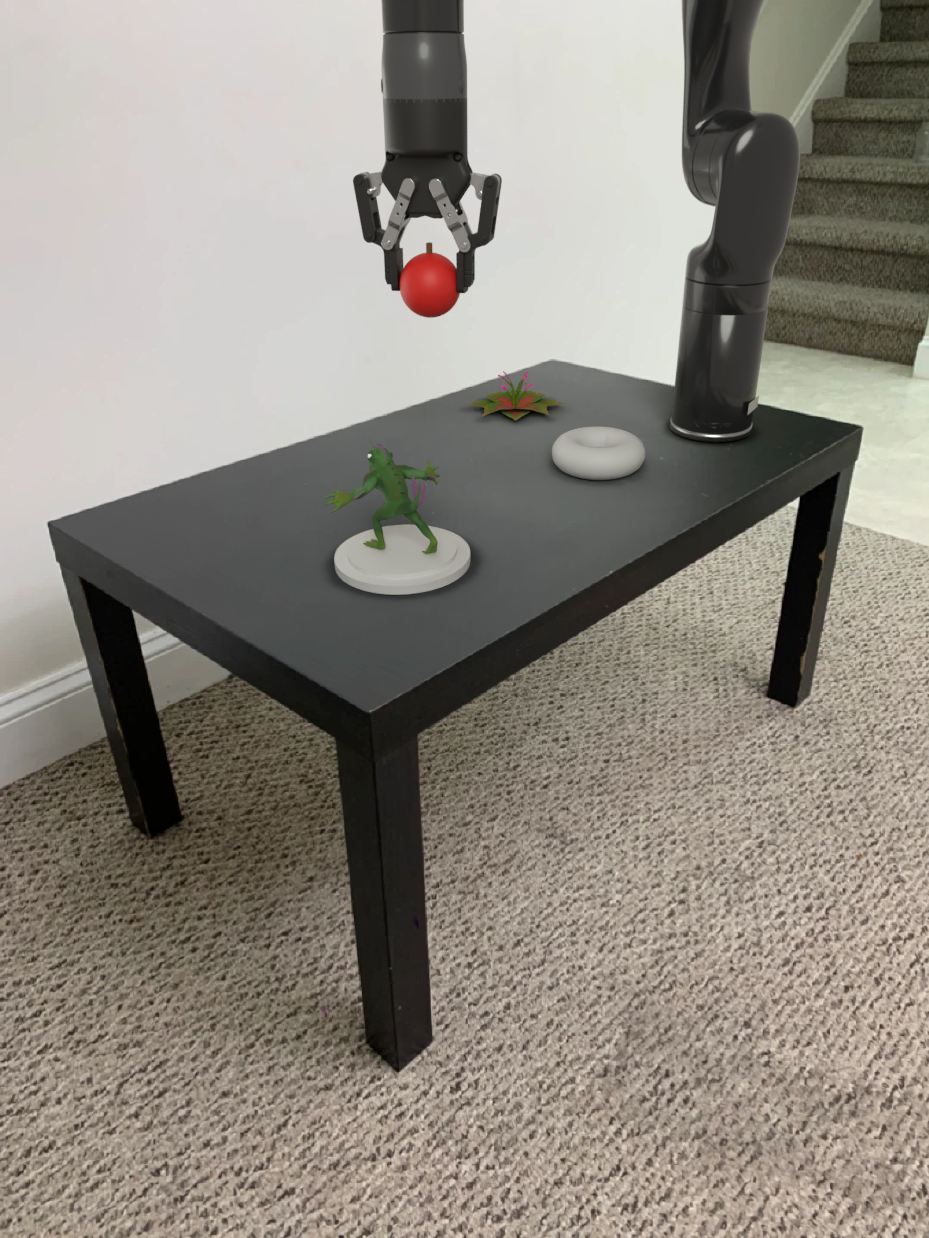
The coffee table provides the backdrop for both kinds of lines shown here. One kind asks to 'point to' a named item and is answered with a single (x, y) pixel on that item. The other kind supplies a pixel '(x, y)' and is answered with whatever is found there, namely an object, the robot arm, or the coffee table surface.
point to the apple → (429, 284)
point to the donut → (598, 453)
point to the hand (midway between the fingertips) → (429, 290)
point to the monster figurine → (398, 536)
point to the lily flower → (515, 401)
